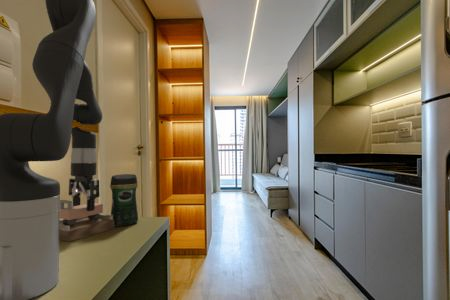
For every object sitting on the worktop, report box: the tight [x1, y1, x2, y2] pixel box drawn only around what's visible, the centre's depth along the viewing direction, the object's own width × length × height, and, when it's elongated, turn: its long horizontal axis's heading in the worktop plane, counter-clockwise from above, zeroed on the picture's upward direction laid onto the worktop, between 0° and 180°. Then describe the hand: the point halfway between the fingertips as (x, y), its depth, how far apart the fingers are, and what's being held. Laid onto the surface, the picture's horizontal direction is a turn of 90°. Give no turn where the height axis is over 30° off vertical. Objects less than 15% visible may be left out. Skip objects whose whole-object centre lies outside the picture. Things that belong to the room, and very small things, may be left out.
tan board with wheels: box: [60, 199, 104, 226], centre depth 77 cm, size 11×6×8 cm, turn 151°
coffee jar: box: [109, 173, 139, 227], centre depth 86 cm, size 10×8×19 cm
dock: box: [59, 213, 115, 243], centre depth 77 cm, size 15×12×4 cm
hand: (83, 209), depth 77 cm, fingers open, 8 cm apart
